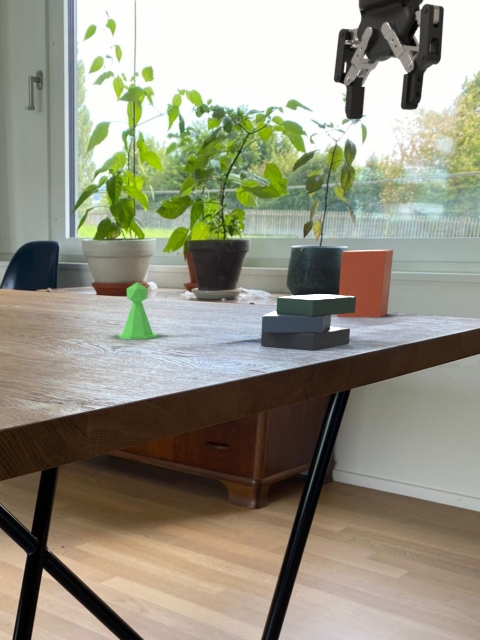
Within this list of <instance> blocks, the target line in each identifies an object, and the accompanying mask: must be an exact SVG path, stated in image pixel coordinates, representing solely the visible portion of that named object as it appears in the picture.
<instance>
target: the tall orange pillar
mask: <svg viewBox="0 0 480 640" xmlns="http://www.w3.org/2000/svg"><path fill="white" fill-rule="evenodd" d="M393 256H394V249H363V250H362V249H360V250H359V249H358V250H357V249H356V250H344V251H341V259H340V260H341V261H340V262H341V263H340V275H339V287H338V288H339V289H338V295H340V296H356V307H355V313H348V314H336V316H337V318H382V317H384V316H386V315H387V314H388V310H389V298H390V288H391V278H392V267H393Z"/></svg>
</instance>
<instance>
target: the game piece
mask: <svg viewBox="0 0 480 640" xmlns="http://www.w3.org/2000/svg"><path fill="white" fill-rule="evenodd" d="M126 299H128V300H129V301H131V302H132V304H131V307H130V310H129V312H128V316H127V318H126V322H125V325H124V328H123V331H122V333H118V339H120V340H151V339H156V338H157V339H158V333H157V332H153V329H152V327H151V324H150V321H149V318H148V316H147V312H146V310H145V307H144V305H143V301H145V300H147V299H148V287H146V286H145V285H142V284H141V283H139V282H138V281H136V282H135V283H133V284H131V285H130V286H129V287H126Z"/></svg>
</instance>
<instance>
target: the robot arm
mask: <svg viewBox="0 0 480 640" xmlns="http://www.w3.org/2000/svg"><path fill="white" fill-rule="evenodd" d="M423 2H424V0H357V9H358V11H359V13H360V21H359V24H358V26H357V28H352V29H351V28H341V29H340V30H339V32H338V34H337V35H338V37H337V45H336V53H335V54H336V55H335V64H334V73H333V81H334V83H336V84H337V83H338V84H342V85H344V86H345V89H346V92H345V103H344V105H345V106H344V113H345V115H346V116H345V117H346V119H347V120H354V121H355V120H356V121H357V120H361V119H362V118H363V115H364V106H365V93H366V86H364V84H365V82H366V81H367V79H368V77H369V75H370V73H371V72H372V71H373V70H375V69H376V68H377V66H378V64H379V63H381V62H385V61H387V60H389V59H398V60H399V62H400V64H402V67H403V69H404V70H405V73H404V74H403V78H402V87H401V99H400V100H401V101H400V108H401V109H402V110H405V111H412V110H417V108H418V107H419V104H420V103H421V99H422V94H423V85H424V77H425V76H424V75H425V74H426V72H427V69H429V68H430V67H432V66H433V65H438V64H440V61H441V59H442V50H443V49H442V48H443V47H442V46H443V34H444V33H443V32H444V17H445V16H444V15H445V8H444V7H443V6H442V5H436V4H431V3H424V4H423ZM422 4H423V6H422V7H420V6H421V5H422ZM418 29H419V37H418V38H419V39H417V37H416V36H415V35H416V33H417V31H418ZM365 56H366V57H365Z"/></svg>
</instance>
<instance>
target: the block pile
mask: <svg viewBox="0 0 480 640" xmlns="http://www.w3.org/2000/svg"><path fill="white" fill-rule="evenodd" d="M355 307H356V296H340V295H339V294H323V293H316V294H302V295H301V294H300V295H289V296H277V297H276V310H273V311H272V312H271V311H270V312H269V313H267V314H265V315H262V316H261V333H260V334H261V337H260V346H261V347H268V348H269V347H270V348H282V349H292V350H303V351H318V350H323V349H328V348H333V347H334V348H335V347H340V346H345V345H349V344H350V338H351V337H350V335H351V328H350V327H338V326H331V324H332V316H335V315H336V316H337V314H348V313H355Z"/></svg>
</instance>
